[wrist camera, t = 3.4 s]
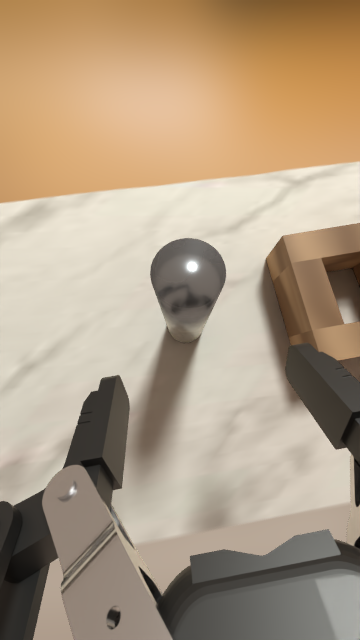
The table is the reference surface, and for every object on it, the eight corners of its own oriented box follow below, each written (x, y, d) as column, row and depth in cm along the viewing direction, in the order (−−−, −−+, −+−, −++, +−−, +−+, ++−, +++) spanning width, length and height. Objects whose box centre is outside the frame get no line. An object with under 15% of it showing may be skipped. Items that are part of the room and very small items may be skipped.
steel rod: (171, 345, 21) (156, 314, 10) (165, 311, 22) (145, 244, 10) (206, 339, 21) (233, 301, 10) (199, 305, 22) (217, 232, 10)
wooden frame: (296, 364, 21) (322, 363, 17) (265, 258, 23) (282, 235, 19) (409, 344, 21) (461, 338, 17) (367, 241, 23) (404, 215, 20)
